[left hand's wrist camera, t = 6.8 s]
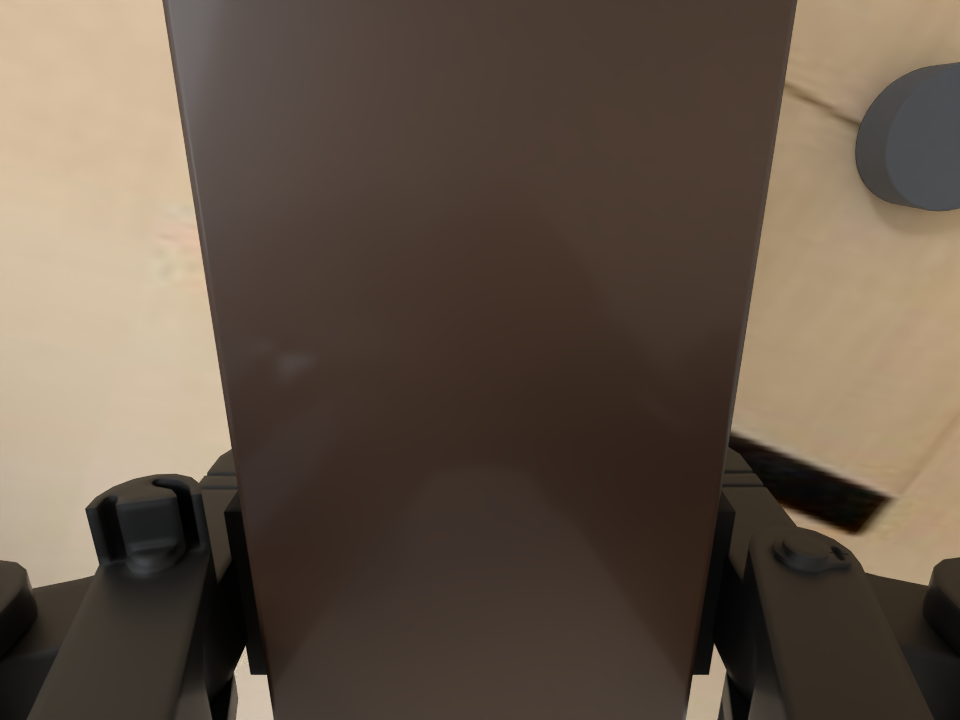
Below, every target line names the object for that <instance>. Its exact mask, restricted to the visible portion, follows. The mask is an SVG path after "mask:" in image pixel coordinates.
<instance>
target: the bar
mask: <svg viewBox="0 0 960 720" xmlns="http://www.w3.org/2000/svg"><path fill="white" fill-rule="evenodd" d="M162 1H163V7H164V14H165V20H166V26H167V33H168V39H169V46H170V52H171V59H172V65H173V72H174V78H175V84H176V91H177V97H178V104H179V110H180V117H181V123H182V130H183V136H184V143H185V149H186V155H187V162H188V168H189V175H190V181H191V188H192V194H193V201H194V207H195V214H196V220H197V226H198V233H199V239H200V246H201V252H202V259H203V265H204V272H205V278H206V284H207V291H208V297H209V304H210V310H211V317H212V323H213V330H214V336H215V343H216V349H217V355H218V362H219V368H220V375H221V381H222V388H223V394H224V401H225V407H226V414H227V420H228V426H229V433H230V439H231V446H232V452H233V459H234V465H235V472H236V478H237V484H238V491H239V497H240V504H241V510H242V517H243V523H244V530H245V536H246V543H247V549H248V555H249V562H250V568H251V575H252V581H253V588H254V594H255V601H256V607H257V614H258V620H259V626H260V633H261V639H262V646H263V652H264V659H265V665H266V672H267V678H268V684H269V691H270V697H271V704H272V710H273V717H274V720H686V714H687V708H688V701H689V695H690V688H691V682H692V676H693V669H694V663H695V656H696V650H697V643H698V637H699V630H700V624H701V617H702V611H703V605H704V598H705V592H706V585H707V579H708V572H709V566H710V559H711V553H712V546H713V540H714V534H715V527H716V521H717V514H718V508H719V501H720V495H721V488H722V482H723V476H724V469H725V463H726V456H727V450H728V443H729V437H730V430H731V424H732V417H733V411H734V405H735V398H736V392H737V385H738V379H739V372H740V366H741V359H742V353H743V346H744V340H745V334H746V327H747V321H748V314H749V308H750V301H751V295H752V288H753V282H754V275H755V269H756V263H757V256H758V250H759V243H760V237H761V230H762V224H763V217H764V211H765V205H766V198H767V192H768V185H769V179H770V172H771V166H772V159H773V153H774V146H775V140H776V134H777V127H778V121H779V114H780V108H781V101H782V95H783V88H784V82H785V75H786V69H787V63H788V56H789V50H790V43H791V37H792V30H793V24H794V17H795V11H796V4H797V0H162Z"/></svg>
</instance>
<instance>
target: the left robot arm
mask: <svg viewBox="0 0 960 720" xmlns="http://www.w3.org/2000/svg"><path fill="white" fill-rule="evenodd" d="M85 510H86V514H87V518H88V522H89V526H90V530H91V533H92V537H93V541H94V545H95V549H96V553H97V557H98V561H99V567H98V569H97V571H96V573H95V575H94V576H90V577H86V578H83V579H78V580H73V581H68V582H63V583H58V584H53V585H49V586H44V587H39V588H34V589H32V587H31V584H30V580H29V577H28V574H27V571H26V569H25V568H23V567H22V566H21V565H19V564H18V563H17V562H9V561H2V560H0V720H236V713H237V704H238V694H237V687H236V681H235V676H234V670H235V668H236V666H237V663H238V661H239V659H240V657H241V654H242V652H243V650H244V648H245V646H246V649H247V655H248V661H249V667H250V673H251V675H267V672H266V665H265V659H264V652H263V646H262V639H261V633H260V626H259V620H258V614H257V607H256V601H255V594H254V588H253V581H252V575H251V568H250V562H249V555H248V549H247V543H246V536H245V530H244V523H243V517H242V510H241V504H240V497H239V491H238V484H237V478H236V472H235V465H234V459H233V452H232V449H231V450H229V451H228V452H226V453H225V454H223V455H222V456H220V457H219V458H218V460H217V461H216V462H215V464H214V465H213V466H212V467H211V469H210V470H209V471H208V472H207V476H204V478H203V479H202V480H201V481H200V483H198V482H197V481H195V480H194V479H193V478H191V477H188V476H183V475H178V474H156V475H151V476H146V477H141V478H136V479H133V480H130V481H127V482H125V483H122V484H119V485H117V486H114V487H112V488H110V489H109V490H107V491H105V492H104V493H102V494H100V495H99V496H97V497H96V498H95V499H94V500H93V501H92V502H91V503H90V504H89V505H88V506H87V507H86V508H85ZM714 643H715V646H716V648H717V650H718V652H719V654H720V657H721V659H722V661H723V663H724V665H725V668H726V676H725V681H724V687H723V693H722V698H721V704H720V709H719V715H718V720H960V557H959V558H952V559H944V560H942V561H941V562H940V563H938V564H937V565H936V566H935V567H934V569H933V572H932V575H931V579H930V582H929V585H928V586H925V585H920V584H915V583H910V582H905V581H900V580H896V579H891V578H886V577H881V576H876V575H873V574H869V573H865V572H864V570H863V568H862V566H861V564H860V562H859V561H858V560H857V559H856V557H855V556H854V555H853V553H852V552H851V551H850V550H848V549H847V548H846V547H844V546H843V545H841V544H840V543H839V542H837V541H836V540H834V539H832V538H830V537H827V536H825V535H823V534H820V533H818V532H816V531H813V530H809V529H804V528H800V527H797V526H796V525H795V523H794V522H793V521H792V520H791V518H790V517H789V516H788V514H787V513H786V512H785V511H784V509H783V508H782V507H781V506H780V504H779V503H778V502H777V501H776V499H775V498H774V497H773V496H772V494H771V493H770V492H769V491H768V489H767V488H766V487H763V483H762V482H761V480H760V479H759V478H758V477H757V475H756V474H753V470H752V469H751V468H750V467H749V465H748V464H747V463H746V462H745V460H744V459H743V458H742V456H741V455H740V454H739V453H737V452H735V451H734V450H732V449H730V448H729V447H728V450H727V456H726V463H725V469H724V476H723V482H722V488H721V495H720V501H719V508H718V514H717V521H716V527H715V534H714V540H713V546H712V553H711V559H710V566H709V572H708V579H707V585H706V592H705V598H704V605H703V611H702V617H701V624H700V630H699V637H698V643H697V650H696V656H695V663H694V669H693V675H709V671H710V665H711V659H712V653H713V647H714Z"/></svg>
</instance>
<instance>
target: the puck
mask: <svg viewBox="0 0 960 720" xmlns="http://www.w3.org/2000/svg"><path fill="white" fill-rule="evenodd" d="M856 161H857V166H858V170H859V173H860V175H861V178H862V180H863V181H864V183H865V184H866V186H867V187H868V188H869V189H870V190H871V192H873V193H874V194H875V195H876V196H878V197H879V198H881V199H883V200H885V201H887V202H890V203H894V204H898V205H903V206H909V207H914V208H919V209H925V210H930V211H949V210H954V209H958V208H960V62H958V63H951V64H943V65H936V66H929V67H925V68H921V69H918V70H915V71H912V72H910V73H908V74H906V75H904V76H902V77H901V78H899V79H897V80H896V81H894V82H893V83H892V84H891V85H889V86H888V87H887V88H886V89H885V90H884V91H883V92H882V93H881V94H880V95H879V96H878V97H877V98H876V100H875V101H874V102H873V103H872V105H871V106H870V108H869V110H868V111H867V113H866V115H865V117H864V119H863V121H862V124H861V126H860V129H859V132H858V136H857V142H856Z"/></svg>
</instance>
